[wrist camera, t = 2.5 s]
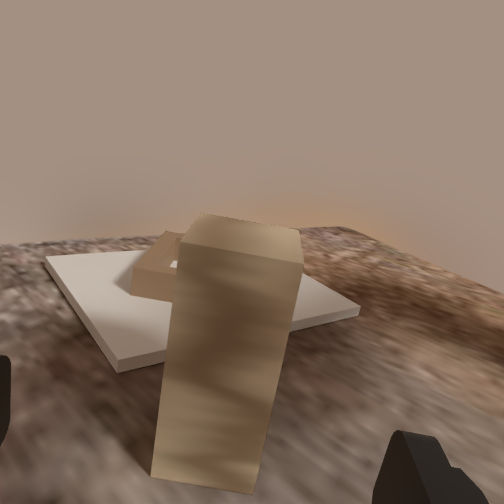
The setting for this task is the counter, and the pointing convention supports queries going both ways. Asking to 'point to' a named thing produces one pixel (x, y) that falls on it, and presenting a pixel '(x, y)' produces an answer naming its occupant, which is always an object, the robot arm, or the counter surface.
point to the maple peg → (225, 350)
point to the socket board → (155, 300)
